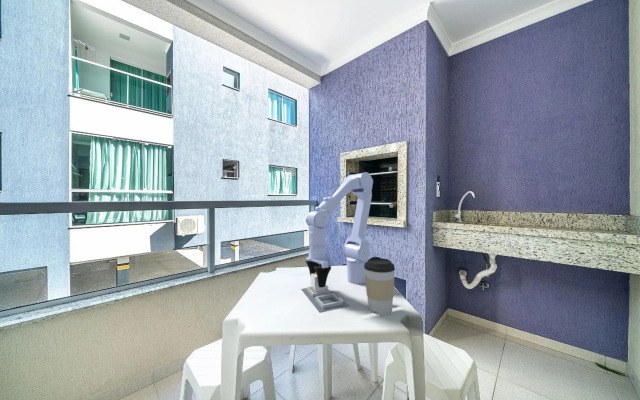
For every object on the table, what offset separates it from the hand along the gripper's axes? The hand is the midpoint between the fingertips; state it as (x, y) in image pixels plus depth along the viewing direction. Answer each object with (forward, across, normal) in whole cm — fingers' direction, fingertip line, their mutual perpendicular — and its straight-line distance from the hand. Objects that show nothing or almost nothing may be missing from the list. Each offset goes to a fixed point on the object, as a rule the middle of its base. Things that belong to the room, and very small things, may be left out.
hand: (318, 283), depth 78 cm
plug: (+3, 0, 0) cm, 3 cm away
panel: (+4, +4, 0) cm, 6 cm away
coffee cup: (+4, +18, +13) cm, 23 cm away
